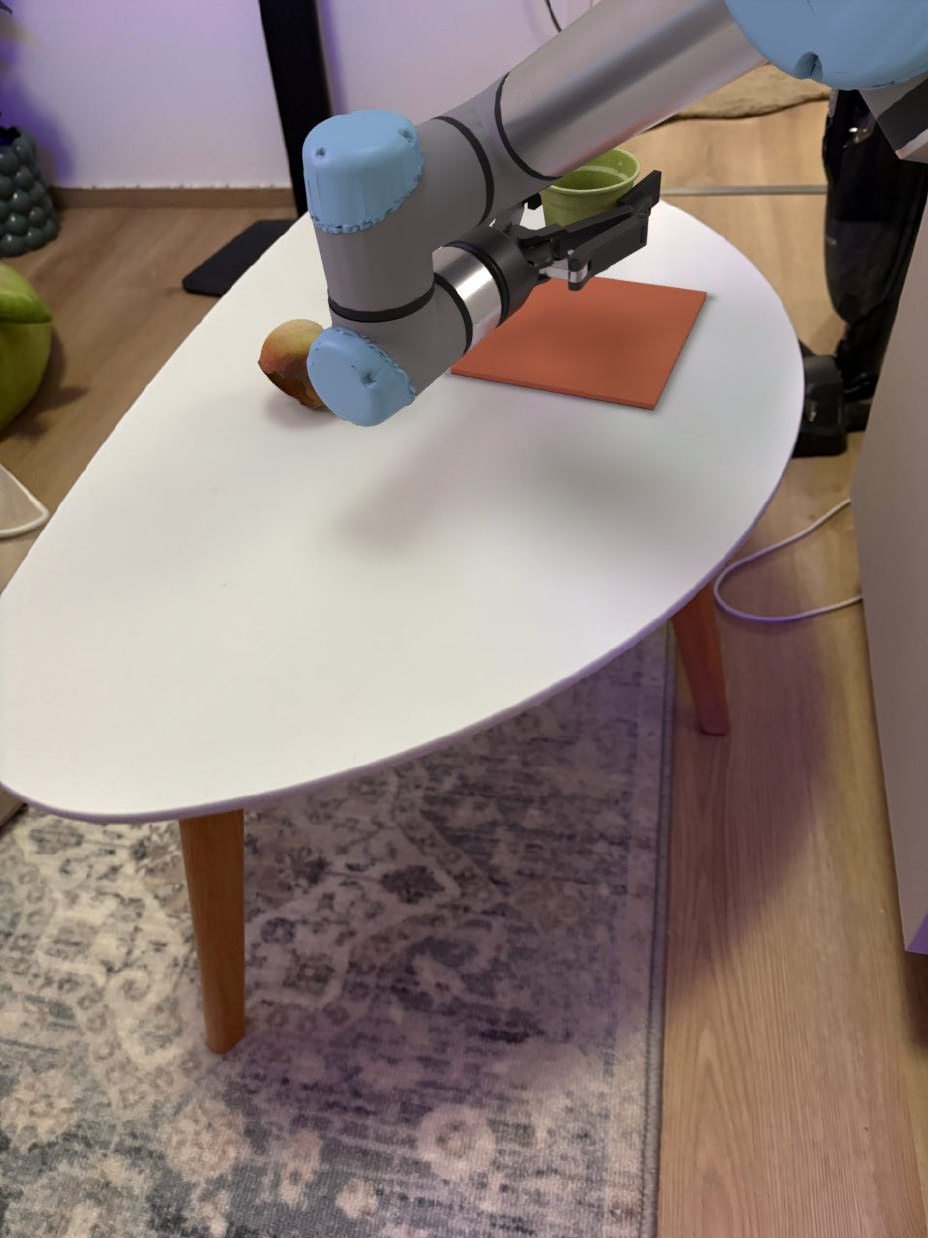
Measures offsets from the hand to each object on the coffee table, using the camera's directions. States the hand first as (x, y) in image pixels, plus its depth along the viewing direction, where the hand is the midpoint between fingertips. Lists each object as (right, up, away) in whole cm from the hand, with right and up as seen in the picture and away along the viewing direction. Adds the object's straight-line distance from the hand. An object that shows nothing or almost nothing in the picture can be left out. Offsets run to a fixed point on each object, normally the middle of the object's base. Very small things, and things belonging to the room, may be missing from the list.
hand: (611, 175), depth 86 cm
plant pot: (-2, -7, +2) cm, 8 cm away
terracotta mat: (-2, -12, +8) cm, 14 cm away
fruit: (-28, -20, +4) cm, 34 cm away
